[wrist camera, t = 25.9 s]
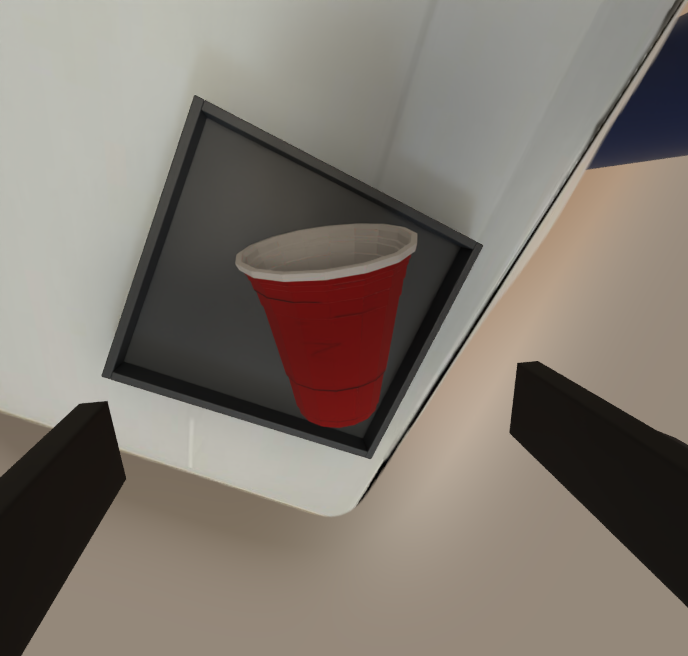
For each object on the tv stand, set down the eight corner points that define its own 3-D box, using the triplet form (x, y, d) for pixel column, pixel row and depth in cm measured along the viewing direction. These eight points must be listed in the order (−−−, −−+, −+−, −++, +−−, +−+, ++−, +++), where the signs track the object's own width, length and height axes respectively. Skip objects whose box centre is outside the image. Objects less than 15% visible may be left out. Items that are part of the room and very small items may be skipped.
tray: (467, 242, 30) (483, 245, 28) (364, 442, 34) (371, 459, 31) (202, 105, 24) (194, 94, 22) (115, 363, 28) (100, 376, 26)
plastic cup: (246, 385, 30) (220, 232, 25) (367, 354, 34) (366, 216, 29) (282, 482, 21) (252, 272, 16) (443, 426, 25) (460, 242, 20)
